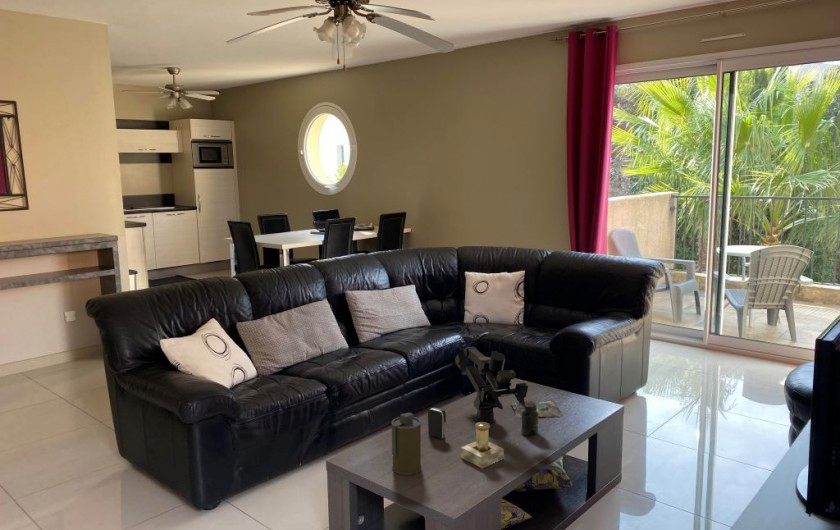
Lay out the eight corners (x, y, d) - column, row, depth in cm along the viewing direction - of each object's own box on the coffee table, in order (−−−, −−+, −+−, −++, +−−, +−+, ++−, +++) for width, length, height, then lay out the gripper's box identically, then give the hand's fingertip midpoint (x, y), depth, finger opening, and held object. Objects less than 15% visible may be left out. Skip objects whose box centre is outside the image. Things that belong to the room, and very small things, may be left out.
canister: (409, 458, 225) (408, 406, 222) (427, 469, 217) (427, 415, 214) (385, 467, 218) (384, 414, 215) (403, 478, 210) (402, 423, 207)
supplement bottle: (538, 437, 242) (538, 408, 240) (520, 436, 243) (521, 407, 242) (538, 430, 249) (539, 402, 247) (521, 429, 250) (521, 401, 248)
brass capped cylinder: (472, 458, 225) (472, 424, 223) (482, 453, 228) (482, 420, 227) (482, 463, 221) (482, 429, 219) (492, 458, 225) (492, 425, 223)
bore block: (460, 457, 226) (461, 447, 225) (482, 448, 233) (482, 438, 232) (482, 468, 217) (482, 457, 217) (503, 459, 224) (503, 448, 224)
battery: (447, 436, 243) (447, 409, 242) (441, 440, 240) (441, 412, 239) (433, 432, 248) (433, 405, 246) (427, 435, 245) (427, 408, 243)
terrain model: (517, 420, 261) (517, 412, 260) (510, 406, 276) (510, 400, 275) (564, 418, 262) (564, 411, 261) (554, 405, 277) (555, 398, 276)
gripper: (478, 367, 238) (494, 393, 225) (521, 362, 243) (539, 387, 231) (474, 389, 243) (489, 416, 230) (516, 384, 249) (533, 410, 236)
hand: (513, 407), depth 231 cm, fingers open, 9 cm apart
